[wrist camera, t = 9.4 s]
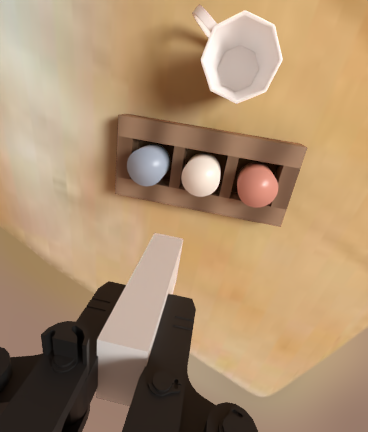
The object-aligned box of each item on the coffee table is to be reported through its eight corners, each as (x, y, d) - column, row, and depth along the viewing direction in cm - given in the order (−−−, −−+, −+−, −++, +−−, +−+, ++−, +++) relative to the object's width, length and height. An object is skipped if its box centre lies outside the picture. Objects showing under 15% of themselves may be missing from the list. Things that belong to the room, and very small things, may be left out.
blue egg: (136, 174, 35) (125, 182, 31) (139, 140, 33) (128, 145, 30) (168, 180, 35) (161, 189, 31) (172, 146, 33) (166, 152, 29)
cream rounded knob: (184, 183, 35) (178, 192, 31) (189, 149, 33) (184, 155, 29) (217, 189, 34) (215, 200, 31) (224, 156, 32) (223, 162, 29)
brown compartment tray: (123, 187, 38) (115, 193, 35) (127, 114, 34) (118, 114, 31) (276, 217, 36) (280, 226, 33) (300, 143, 32) (307, 147, 29)
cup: (233, 116, 32) (235, 120, 25) (176, 49, 30) (160, 31, 23) (282, 70, 29) (300, 59, 22) (224, -7, 28) (222, -47, 20)
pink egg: (233, 192, 34) (233, 203, 30) (241, 159, 32) (242, 166, 29) (267, 199, 34) (271, 210, 30) (277, 165, 32) (283, 173, 28)
